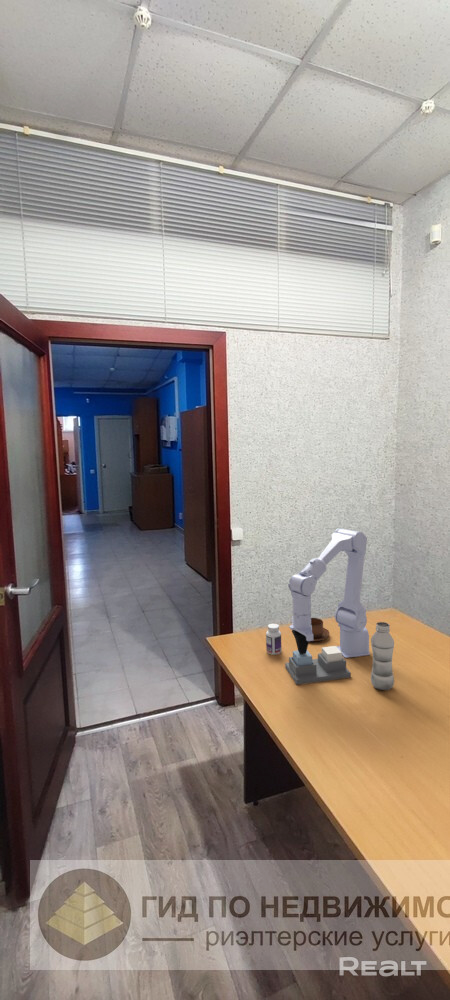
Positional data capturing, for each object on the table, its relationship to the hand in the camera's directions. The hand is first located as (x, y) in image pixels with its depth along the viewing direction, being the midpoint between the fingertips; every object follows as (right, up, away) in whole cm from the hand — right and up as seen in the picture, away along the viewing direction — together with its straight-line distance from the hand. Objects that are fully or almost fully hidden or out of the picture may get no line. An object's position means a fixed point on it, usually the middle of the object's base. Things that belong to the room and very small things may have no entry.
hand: (302, 652), depth 143 cm
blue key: (0, -3, 0) cm, 3 cm away
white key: (+10, -3, +2) cm, 11 cm away
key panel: (+5, -7, +2) cm, 9 cm away
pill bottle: (-7, -6, +17) cm, 19 cm away
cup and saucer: (+9, -4, +28) cm, 29 cm away
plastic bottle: (+23, -8, -8) cm, 25 cm away
